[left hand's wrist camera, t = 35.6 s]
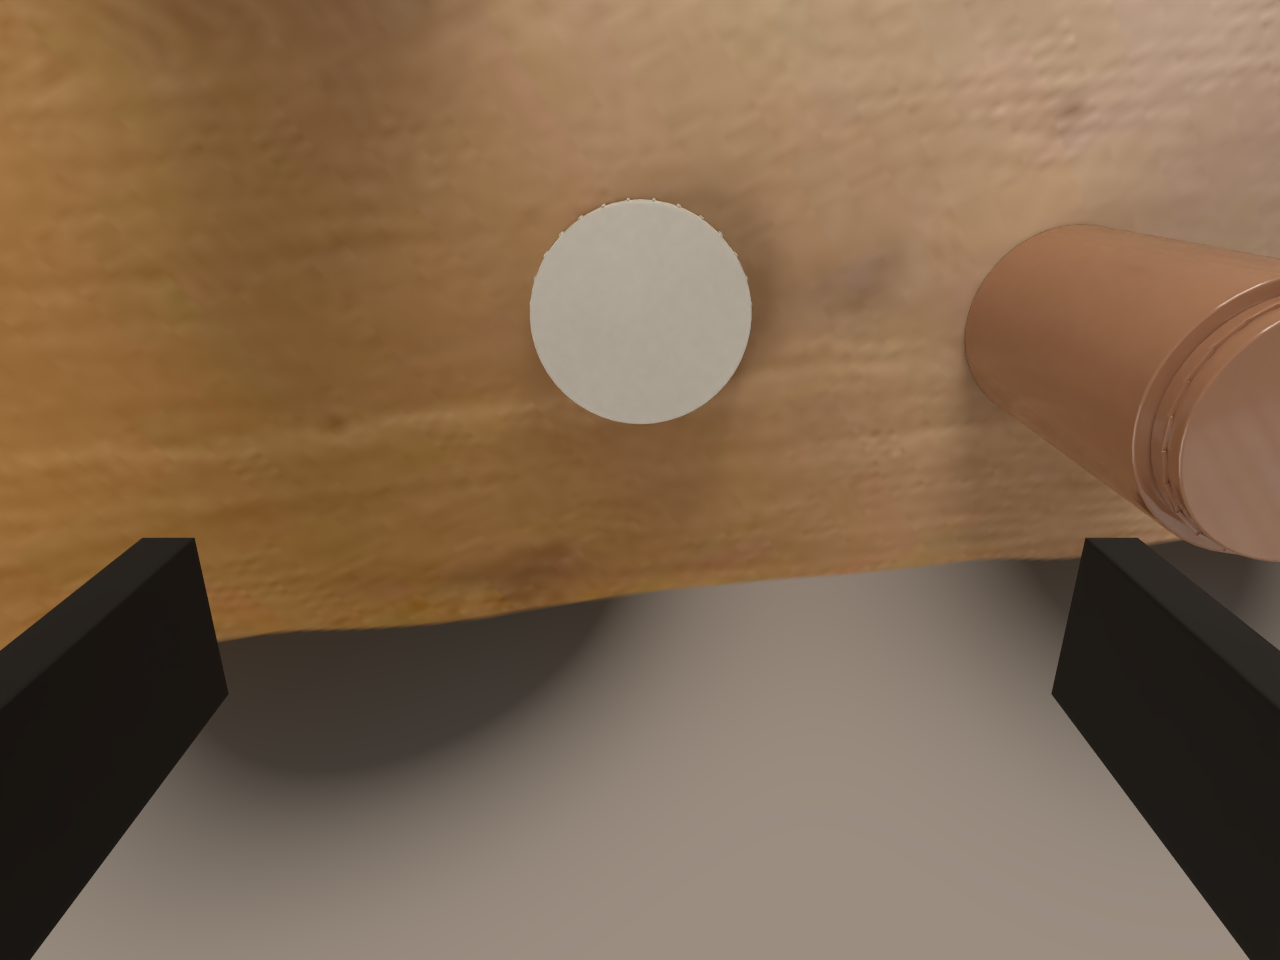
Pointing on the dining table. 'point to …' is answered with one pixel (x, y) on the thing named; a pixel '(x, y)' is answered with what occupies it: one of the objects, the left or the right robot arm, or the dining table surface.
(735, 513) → the dining table surface
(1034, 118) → the dining table surface
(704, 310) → the lid
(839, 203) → the dining table surface
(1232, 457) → the jar
